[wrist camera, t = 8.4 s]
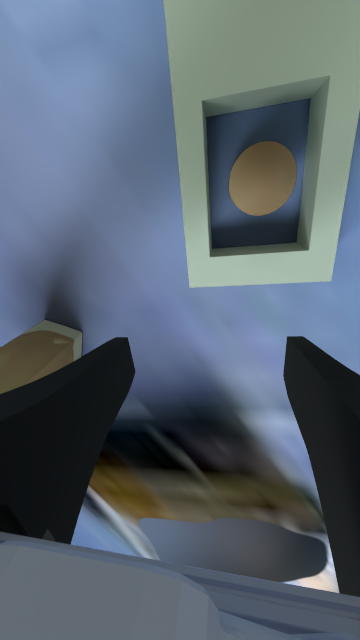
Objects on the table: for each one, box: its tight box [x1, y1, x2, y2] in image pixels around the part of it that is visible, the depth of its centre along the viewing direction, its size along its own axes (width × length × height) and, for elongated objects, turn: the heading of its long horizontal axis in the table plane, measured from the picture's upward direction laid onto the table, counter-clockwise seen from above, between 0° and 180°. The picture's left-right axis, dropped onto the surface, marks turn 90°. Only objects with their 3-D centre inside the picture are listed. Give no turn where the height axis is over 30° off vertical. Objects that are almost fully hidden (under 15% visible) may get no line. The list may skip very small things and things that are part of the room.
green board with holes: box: [164, 0, 360, 288], centre depth 12 cm, size 9×24×3 cm, turn 6°
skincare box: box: [0, 320, 82, 394], centre depth 20 cm, size 6×4×12 cm
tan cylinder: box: [229, 141, 297, 216], centre depth 15 cm, size 3×3×4 cm
